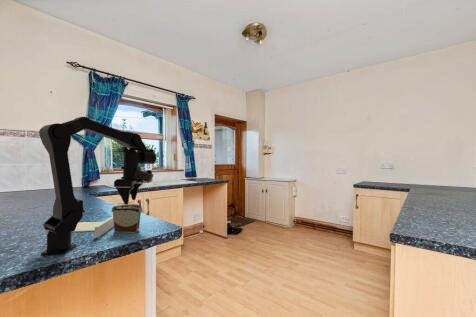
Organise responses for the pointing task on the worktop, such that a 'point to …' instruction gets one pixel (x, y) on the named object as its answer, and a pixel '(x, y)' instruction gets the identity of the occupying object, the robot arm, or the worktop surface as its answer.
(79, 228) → the resting mat
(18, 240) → the worktop surface
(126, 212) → the food container
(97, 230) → the low wall
